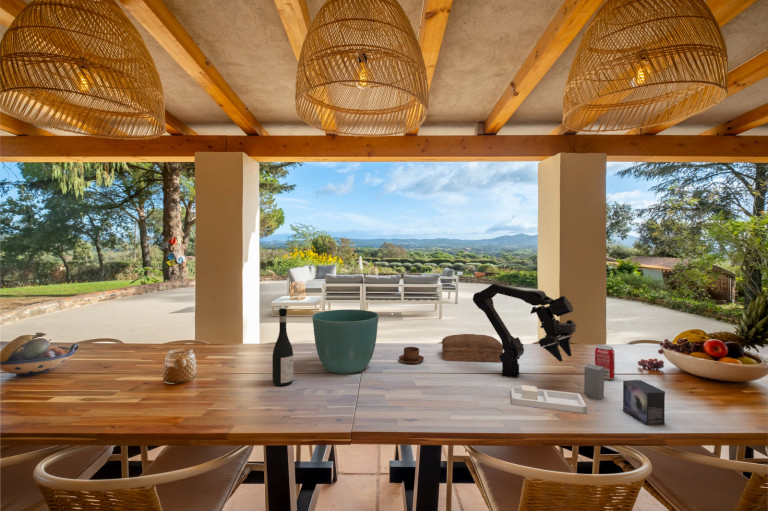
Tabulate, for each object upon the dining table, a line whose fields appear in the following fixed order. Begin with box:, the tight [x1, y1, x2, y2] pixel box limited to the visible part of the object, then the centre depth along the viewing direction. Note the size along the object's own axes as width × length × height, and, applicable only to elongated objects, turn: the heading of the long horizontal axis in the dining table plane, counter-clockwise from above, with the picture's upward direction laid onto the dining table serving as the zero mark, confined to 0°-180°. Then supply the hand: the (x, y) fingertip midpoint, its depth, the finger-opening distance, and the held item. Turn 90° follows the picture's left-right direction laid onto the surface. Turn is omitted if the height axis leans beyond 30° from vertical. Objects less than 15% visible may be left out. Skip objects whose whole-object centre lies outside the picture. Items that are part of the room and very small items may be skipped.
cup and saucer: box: [398, 346, 425, 364], centre depth 178 cm, size 12×12×6 cm
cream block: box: [521, 384, 538, 400], centre depth 130 cm, size 5×5×4 cm
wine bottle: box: [271, 307, 294, 387], centre depth 148 cm, size 8×8×30 cm
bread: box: [441, 333, 504, 363], centre depth 186 cm, size 17×29×11 cm, turn 84°
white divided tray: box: [510, 385, 588, 414], centre depth 129 cm, size 23×12×3 cm, turn 72°
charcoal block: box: [583, 363, 605, 402], centre depth 136 cm, size 5×5×11 cm
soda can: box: [594, 345, 616, 381], centre depth 156 cm, size 7×7×13 cm
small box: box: [622, 379, 666, 426], centre depth 119 cm, size 11×6×10 cm, turn 5°
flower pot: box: [311, 309, 379, 375], centre depth 168 cm, size 30×30×24 cm
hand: (565, 358), depth 144 cm, fingers open, 9 cm apart
